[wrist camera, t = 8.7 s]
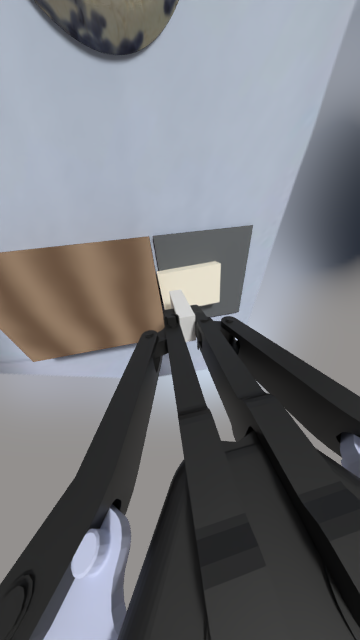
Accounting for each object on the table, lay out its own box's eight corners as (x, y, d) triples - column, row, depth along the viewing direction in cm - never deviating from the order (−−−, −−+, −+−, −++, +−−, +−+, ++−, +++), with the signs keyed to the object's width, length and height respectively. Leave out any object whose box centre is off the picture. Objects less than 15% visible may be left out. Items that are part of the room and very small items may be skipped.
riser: (50, 343, 23) (33, 361, 20) (-23, 255, 16) (-70, 260, 12) (165, 323, 25) (167, 337, 22) (149, 236, 18) (148, 236, 15)
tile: (164, 307, 23) (165, 312, 22) (156, 271, 20) (157, 274, 18) (214, 297, 24) (219, 302, 22) (215, 261, 21) (220, 263, 19)
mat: (167, 323, 26) (167, 324, 25) (152, 235, 18) (152, 236, 18) (237, 310, 27) (238, 311, 27) (251, 225, 19) (253, 225, 19)
